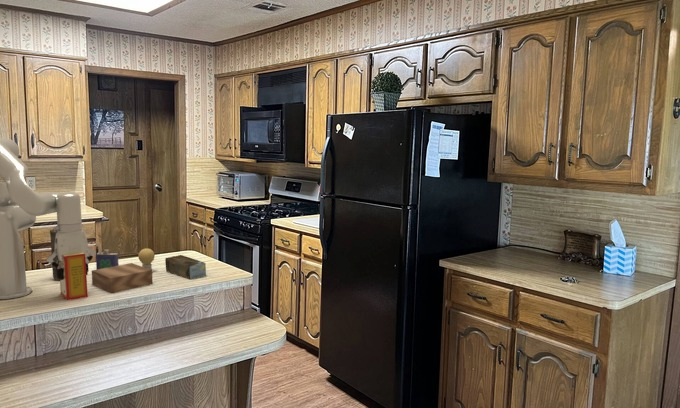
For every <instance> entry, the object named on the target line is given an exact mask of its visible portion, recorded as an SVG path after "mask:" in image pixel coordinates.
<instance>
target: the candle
mask: <svg viewBox="0 0 680 408" xmlns="http://www.w3.org/2000/svg"><path fill="white" fill-rule="evenodd" d="M56 233H58V231H56V230H55V231H54V229H53V228H51V229H49V235H50V249H51V250H50V251H51V254H52V253H53V252H54V251H55V237H56ZM53 261H54V262H55V263H56V262H57V260H56V259H55V257H54V258H53ZM51 268H52V279H53V281H60V279H58V278H57V274H56V268H55V267H54V266H52V265H51Z"/></svg>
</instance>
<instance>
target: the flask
mask: <svg viewBox="0 0 680 408" xmlns="http://www.w3.org/2000/svg"><path fill="white" fill-rule="evenodd" d="M109 250H110V249H108V248H107V249H104V252H103V251H100V252H96V253H95V260H96V261H95V263H96V264H95V265H96V269H95V270H97V269H103V268H108V267H113V266H119V265H120V264H119V254H118V253H116V252H115V253H111V252H110V253H109Z"/></svg>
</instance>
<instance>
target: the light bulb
mask: <svg viewBox="0 0 680 408" xmlns="http://www.w3.org/2000/svg"><path fill="white" fill-rule="evenodd" d="M154 259H155V252H154V250H152V249H151V248H142V249H141V250H140V251H139V252H138V260H139V261H140V263H141V266H142V267H145V268H148V269H151V270H152V271H153V269H152V268H153V267H152V263H153V262H154Z"/></svg>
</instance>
